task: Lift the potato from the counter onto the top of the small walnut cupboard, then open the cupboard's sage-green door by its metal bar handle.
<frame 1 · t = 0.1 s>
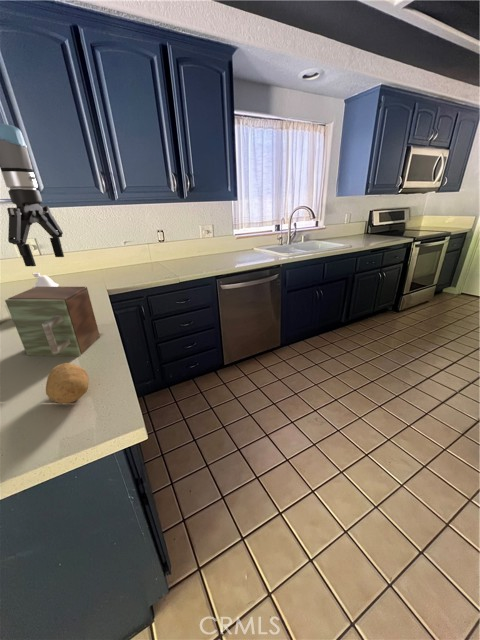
hand: (46, 261, 87), 29 cm above the worktop, tool pointing down, fingers open, 13 cm apart
cupboard door: (37, 333, 81), point 10 cm above the worktop, hinge at 0.0°
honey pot: (53, 310, 125), on the worktop
potato: (72, 395, 71), on the worktop
cupboard: (67, 345, 95), on the worktop
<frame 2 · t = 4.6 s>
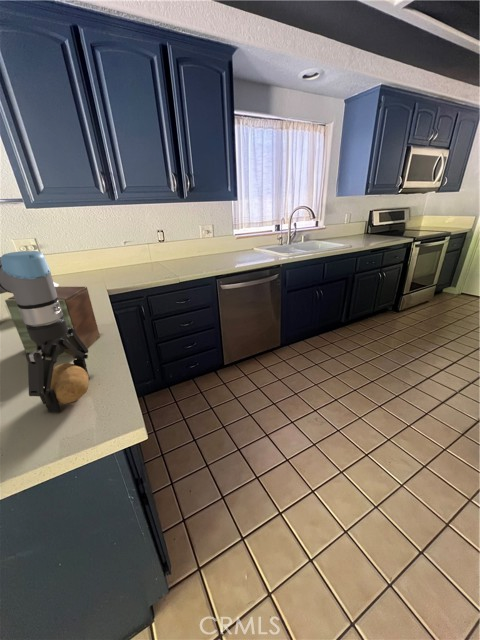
hand: (70, 394, 70), 1 cm above the worktop, tool pointing down, fingers closed on potato, 12 cm apart
potato: (72, 395, 71), on the worktop, touching gripper
everything else where it was.
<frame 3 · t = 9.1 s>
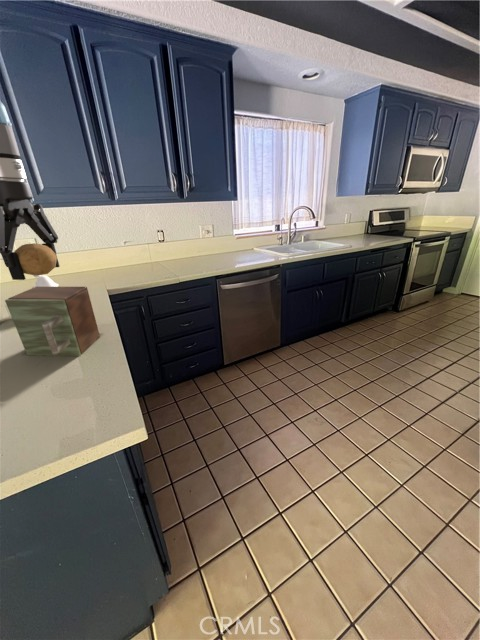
hand: (38, 272, 70), 30 cm above the worktop, tool pointing down, fingers closed on potato, 12 cm apart
potato: (39, 275, 71), point 29 cm above the worktop, touching gripper
everything else where it was.
when the fingers open (21 cm above the worktop, at t = 13.5 s): potato stays where it is, resting on cupboard.
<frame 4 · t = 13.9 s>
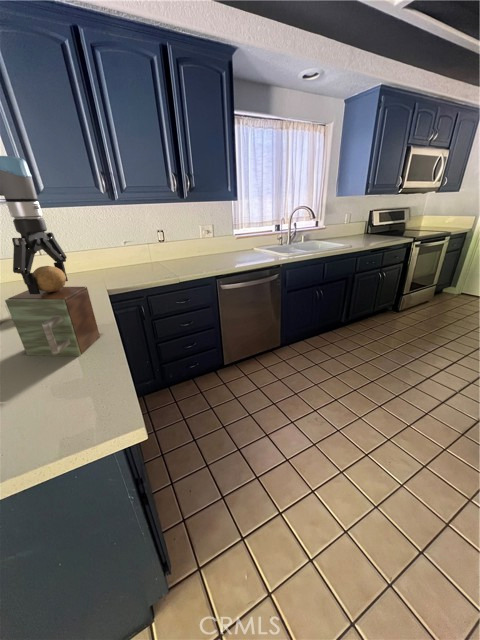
hand: (50, 287, 87), 21 cm above the worktop, tool pointing down, fingers open, 13 cm apart
potato: (52, 291, 88), point 20 cm above the worktop, touching cupboard
everything else where it was.
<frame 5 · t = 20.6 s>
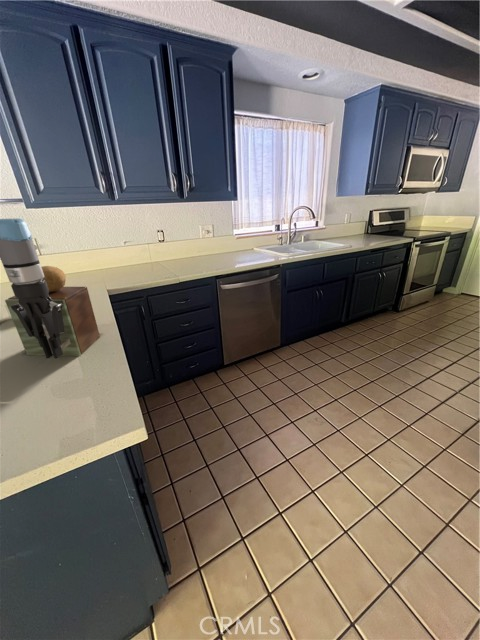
hand: (54, 355, 80), 4 cm above the worktop, tool pointing down, fingers closed on cupboard door, 2 cm apart
cupboard door: (37, 333, 81), point 10 cm above the worktop, hinge at 0.0°, touching gripper
everything else where it was.
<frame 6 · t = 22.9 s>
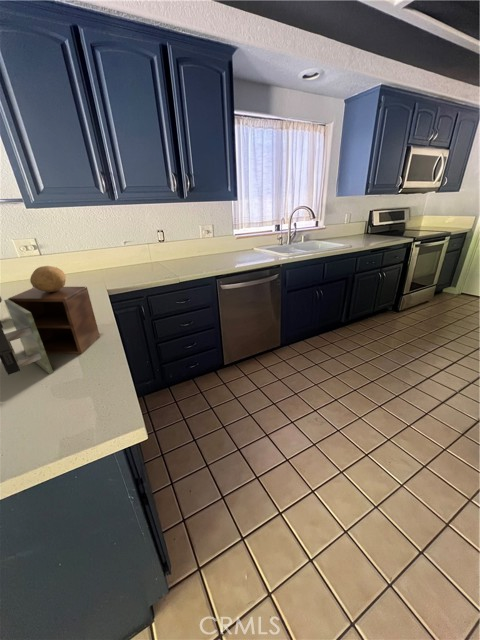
hand: (13, 370, 73), 4 cm above the worktop, tool pointing down, fingers closed on cupboard door, 2 cm apart
cupboard door: (14, 340, 77), point 10 cm above the worktop, hinge at 33.8°, touching gripper
everything else where it was.
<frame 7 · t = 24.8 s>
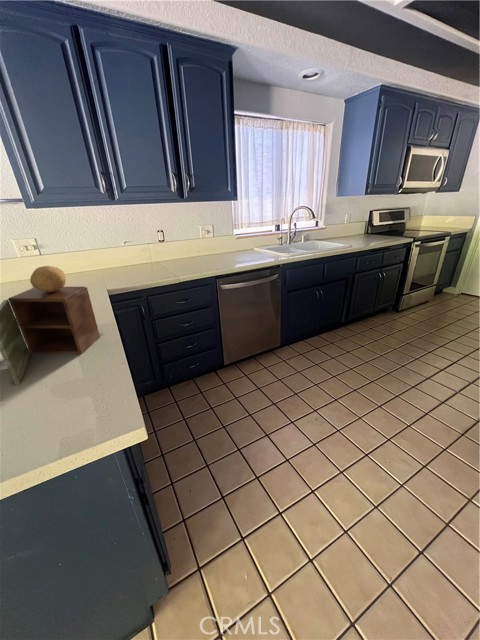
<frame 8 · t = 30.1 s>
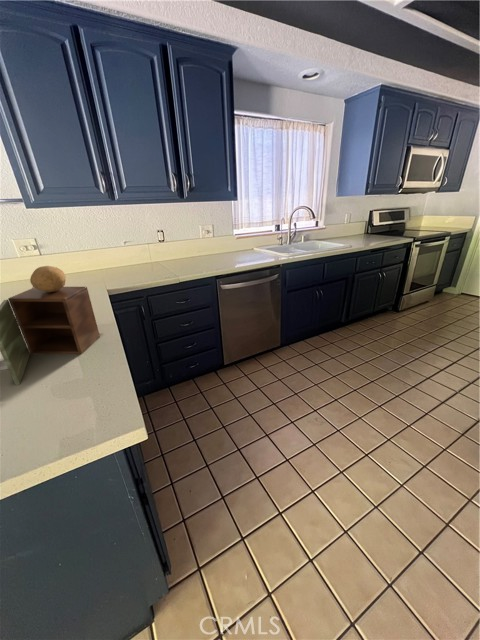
at the end: potato inside the target area on the cupboard (1.3 cm from its centre), point 19.8 cm above the cupboard's base; cupboard door at +60° (first picture: +0°) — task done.
